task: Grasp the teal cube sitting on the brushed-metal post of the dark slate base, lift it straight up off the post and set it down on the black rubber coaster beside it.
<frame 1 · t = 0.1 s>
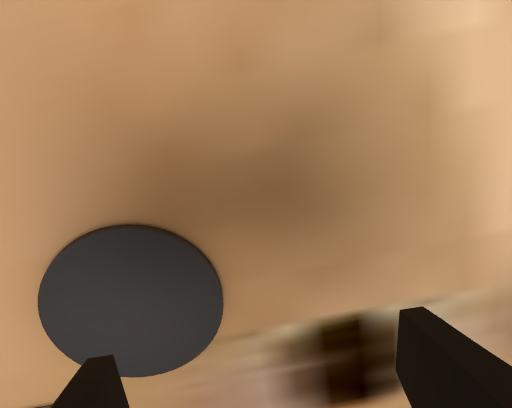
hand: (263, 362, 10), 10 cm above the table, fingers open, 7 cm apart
coaster: (135, 302, 21), on the table
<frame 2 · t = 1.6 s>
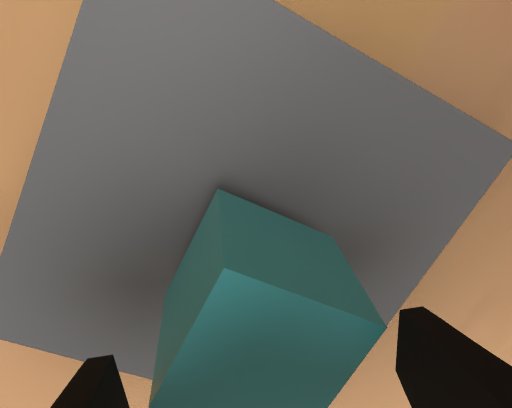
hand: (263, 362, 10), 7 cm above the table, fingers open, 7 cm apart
teal cube: (248, 265, 14), point 3 cm above the table, touching post base
post base: (241, 227, 17), on the table
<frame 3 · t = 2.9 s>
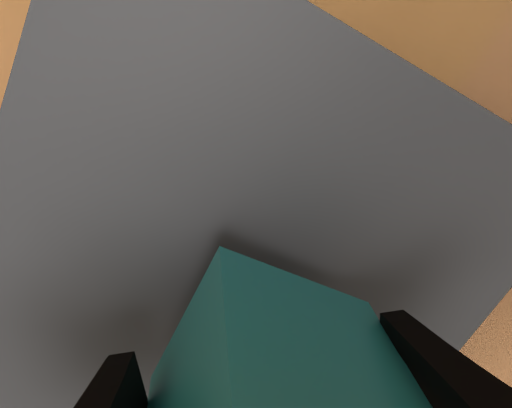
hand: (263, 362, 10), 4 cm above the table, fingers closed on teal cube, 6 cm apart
teal cube: (259, 339, 11), point 3 cm above the table, touching gripper, post base
post base: (248, 277, 14), on the table
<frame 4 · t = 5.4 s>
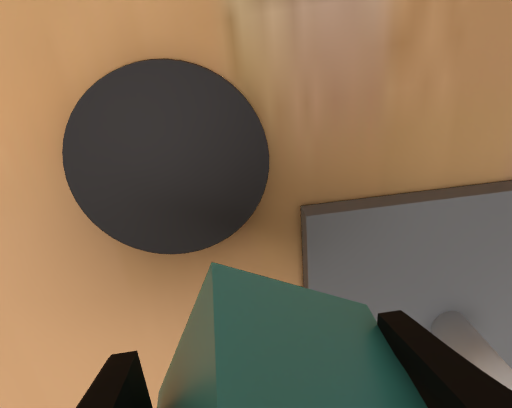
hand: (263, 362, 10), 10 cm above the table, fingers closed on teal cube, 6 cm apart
teal cube: (261, 349, 11), point 10 cm above the table, touching gripper
coaster: (170, 162, 19), on the table
post base: (436, 311, 24), on the table
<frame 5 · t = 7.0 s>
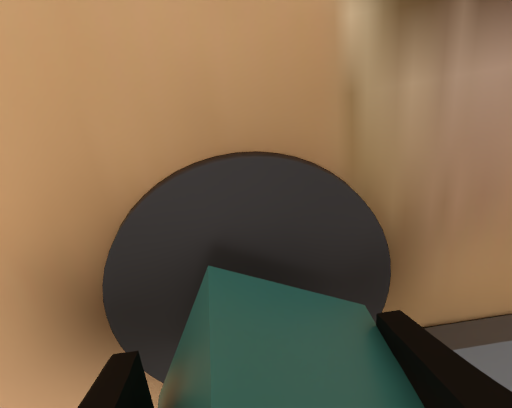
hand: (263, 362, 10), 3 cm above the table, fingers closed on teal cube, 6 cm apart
teal cube: (260, 351, 11), point 3 cm above the table, touching gripper
coaster: (250, 284, 13), on the table
when the fingers open (3 cm above the table, at t = 8.2 s): teal cube drops 1 cm, resting on coaster.
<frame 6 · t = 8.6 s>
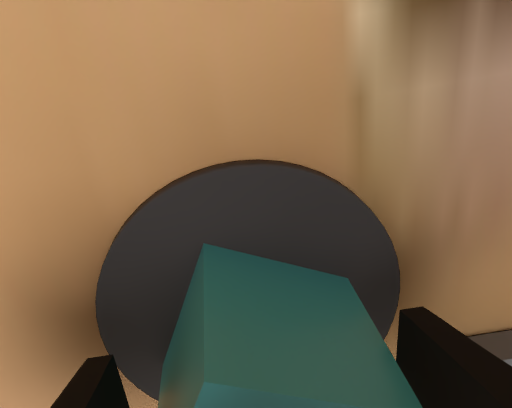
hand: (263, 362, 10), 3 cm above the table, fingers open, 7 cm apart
teal cube: (253, 322, 12), point 1 cm above the table, touching coaster
coaster: (252, 299, 13), on the table
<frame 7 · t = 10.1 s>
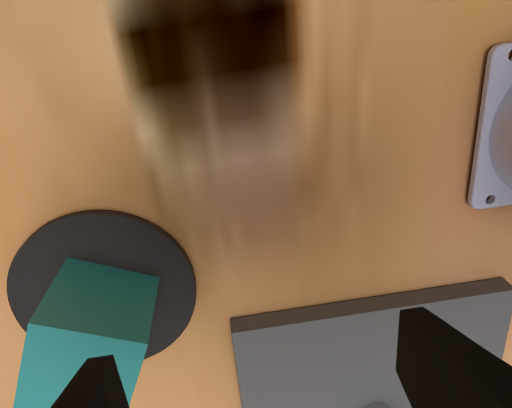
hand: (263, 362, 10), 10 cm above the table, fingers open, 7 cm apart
teal cube: (105, 303, 20), point 1 cm above the table, touching coaster
coaster: (107, 289, 21), on the table
post base: (366, 397, 26), on the table
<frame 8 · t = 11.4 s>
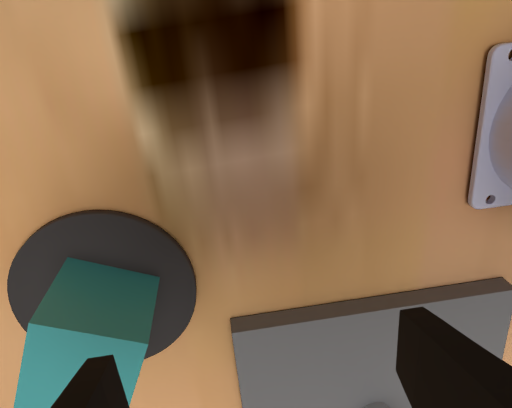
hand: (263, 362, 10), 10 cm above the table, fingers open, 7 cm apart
teal cube: (105, 303, 20), point 1 cm above the table, touching coaster
coaster: (107, 289, 21), on the table
post base: (366, 397, 26), on the table
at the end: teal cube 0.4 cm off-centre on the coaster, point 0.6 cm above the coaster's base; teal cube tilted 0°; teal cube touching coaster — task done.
